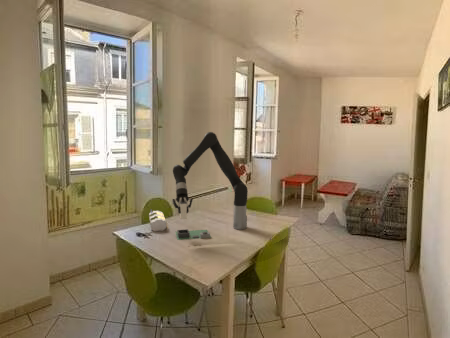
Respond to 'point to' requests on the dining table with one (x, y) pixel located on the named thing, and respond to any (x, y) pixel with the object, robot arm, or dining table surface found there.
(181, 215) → the plug
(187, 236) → the board
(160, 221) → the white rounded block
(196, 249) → the dining table surface
